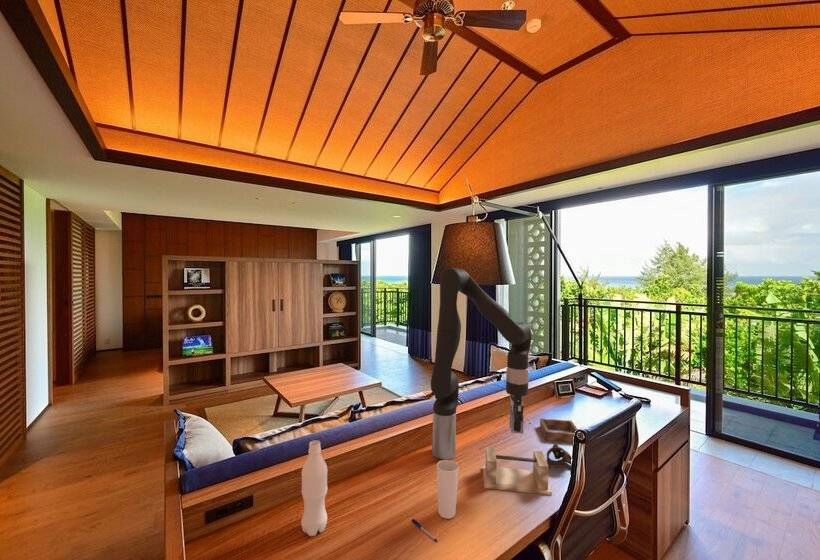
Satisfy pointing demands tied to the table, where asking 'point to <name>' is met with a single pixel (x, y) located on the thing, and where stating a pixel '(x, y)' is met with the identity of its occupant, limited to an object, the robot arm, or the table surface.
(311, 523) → the water bottle
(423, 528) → the ballpoint pen
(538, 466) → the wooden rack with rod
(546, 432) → the open wooden frame
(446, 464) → the drinking glass
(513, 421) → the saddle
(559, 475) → the table surface
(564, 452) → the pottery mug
